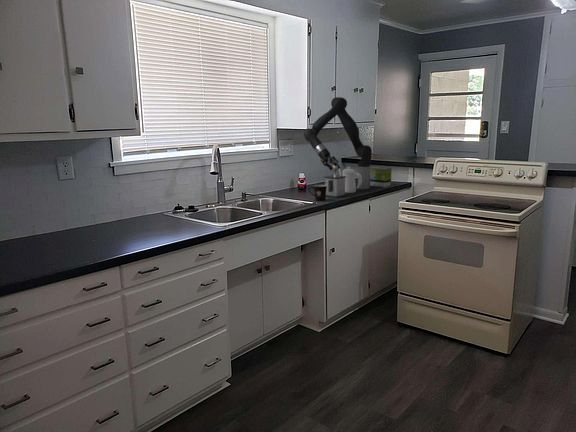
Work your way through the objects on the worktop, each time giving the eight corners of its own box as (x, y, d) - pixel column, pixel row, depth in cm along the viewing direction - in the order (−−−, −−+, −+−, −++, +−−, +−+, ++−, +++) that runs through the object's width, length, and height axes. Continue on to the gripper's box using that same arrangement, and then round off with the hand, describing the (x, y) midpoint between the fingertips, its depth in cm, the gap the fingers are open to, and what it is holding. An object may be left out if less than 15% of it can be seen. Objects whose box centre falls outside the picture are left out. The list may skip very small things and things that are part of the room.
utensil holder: (333, 194, 316) (333, 175, 313) (345, 195, 309) (345, 176, 306) (323, 196, 307) (323, 176, 304) (335, 198, 300) (335, 178, 297)
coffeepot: (340, 189, 339) (340, 165, 335) (365, 192, 320) (366, 167, 316) (330, 190, 332) (330, 166, 328) (356, 194, 313) (356, 168, 309)
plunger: (333, 192, 314) (333, 165, 309) (342, 193, 309) (342, 165, 304) (327, 193, 308) (327, 166, 304) (336, 194, 303) (336, 166, 299)
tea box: (368, 185, 354) (368, 167, 351) (374, 184, 361) (375, 166, 358) (385, 187, 344) (385, 168, 341) (391, 185, 352) (392, 167, 348)
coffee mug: (329, 200, 294) (329, 185, 292) (320, 202, 288) (320, 187, 286) (316, 198, 302) (316, 183, 300) (307, 200, 296) (307, 185, 294)
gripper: (319, 148, 302) (332, 166, 297) (331, 147, 312) (344, 164, 307) (313, 156, 306) (326, 173, 301) (325, 154, 317) (338, 171, 312)
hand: (335, 168), depth 304 cm, fingers open, 8 cm apart
